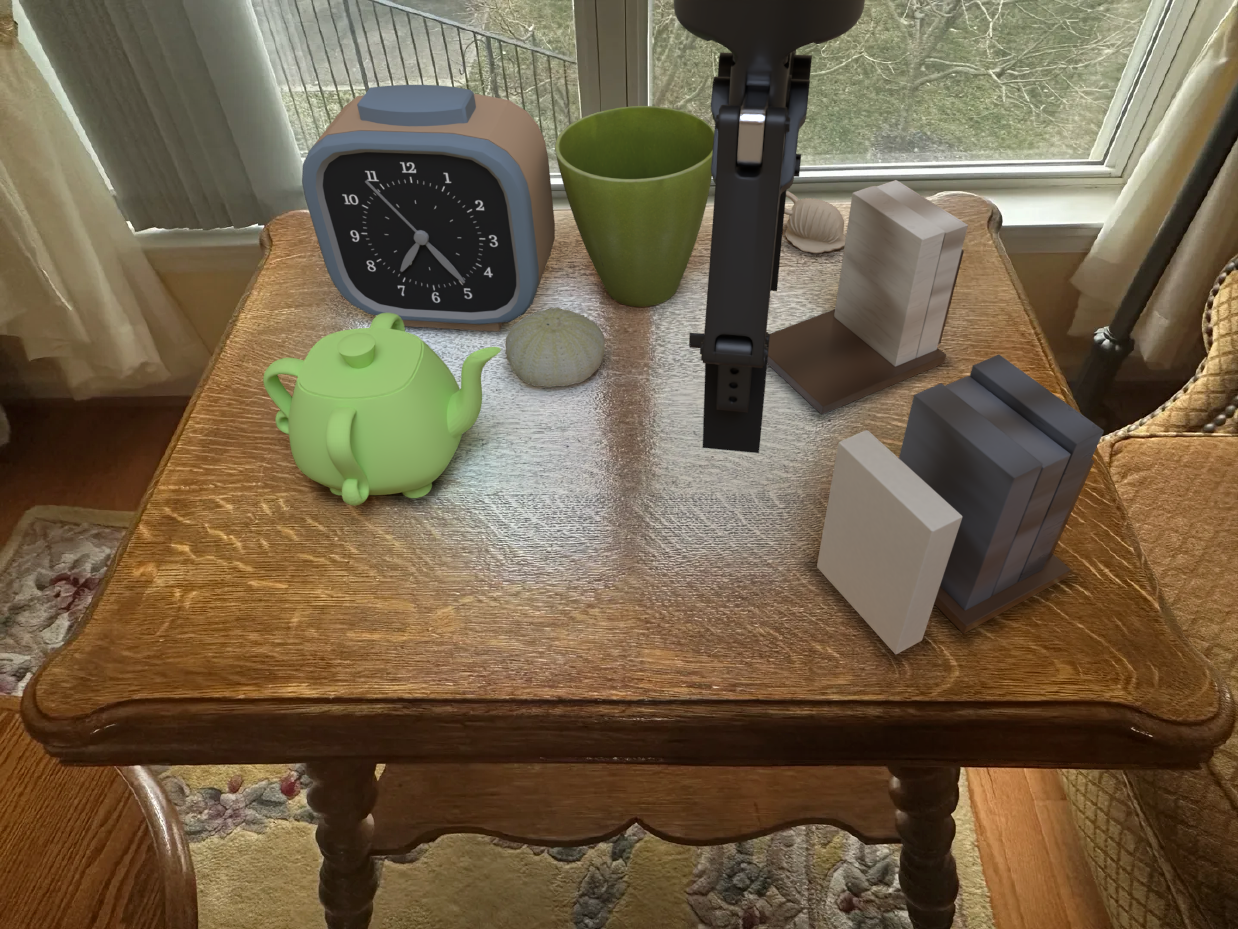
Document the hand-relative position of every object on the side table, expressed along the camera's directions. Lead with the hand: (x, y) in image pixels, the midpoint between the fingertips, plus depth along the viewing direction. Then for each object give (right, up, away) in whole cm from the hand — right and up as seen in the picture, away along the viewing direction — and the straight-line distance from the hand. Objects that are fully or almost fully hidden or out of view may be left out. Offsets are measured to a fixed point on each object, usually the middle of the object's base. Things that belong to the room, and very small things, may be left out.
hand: (743, 358), depth 50 cm
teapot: (-25, -5, +30) cm, 40 cm away
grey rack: (+19, -12, +21) cm, 31 cm away
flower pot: (-4, +13, +48) cm, 49 cm away
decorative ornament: (+14, +19, +52) cm, 58 cm away
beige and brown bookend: (+15, +5, +38) cm, 41 cm away
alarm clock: (-24, +10, +46) cm, 53 cm away
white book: (+11, -16, +18) cm, 26 cm away
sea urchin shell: (-13, +4, +39) cm, 41 cm away
